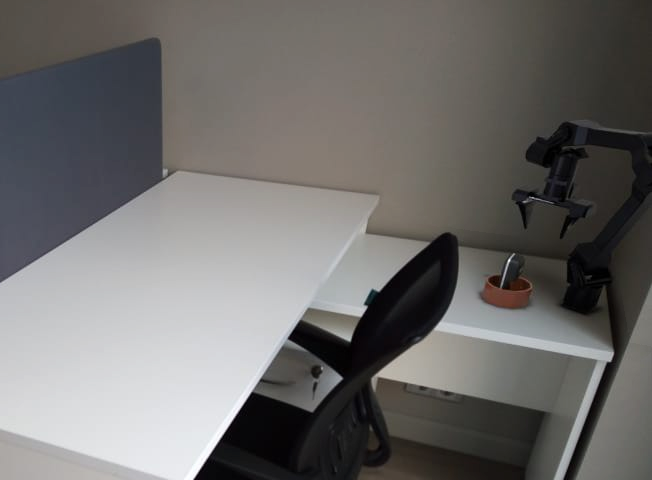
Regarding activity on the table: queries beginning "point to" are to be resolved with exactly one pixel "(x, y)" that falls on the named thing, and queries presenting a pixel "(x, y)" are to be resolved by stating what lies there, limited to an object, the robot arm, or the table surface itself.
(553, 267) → the table surface
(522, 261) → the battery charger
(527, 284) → the bowl
